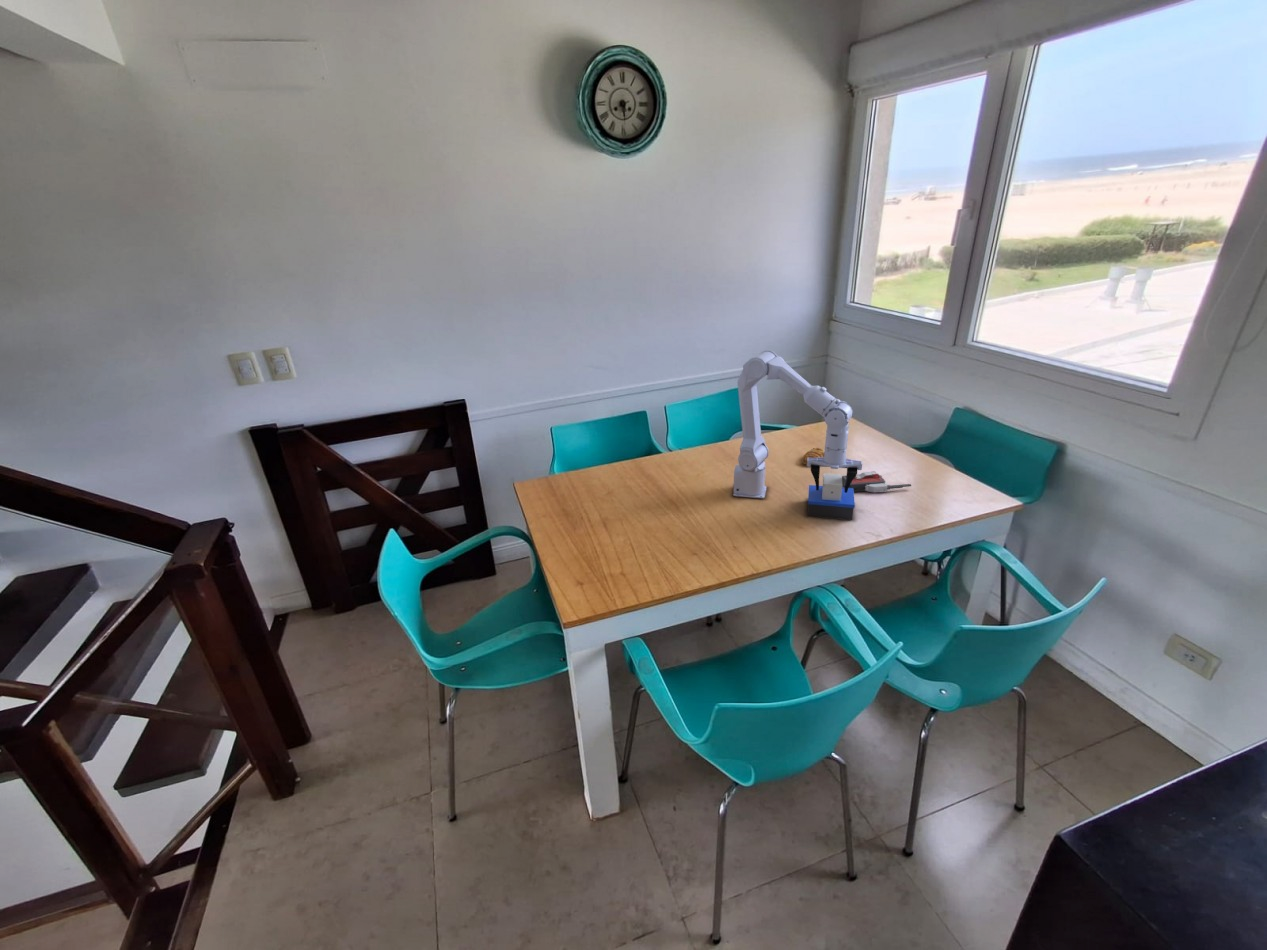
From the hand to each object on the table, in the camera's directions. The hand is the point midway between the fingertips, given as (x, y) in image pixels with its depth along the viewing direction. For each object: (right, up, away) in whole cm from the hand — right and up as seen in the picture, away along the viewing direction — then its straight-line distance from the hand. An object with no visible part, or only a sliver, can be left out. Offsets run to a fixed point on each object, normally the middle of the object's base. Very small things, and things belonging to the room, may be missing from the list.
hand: (831, 489), depth 160 cm
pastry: (+6, +9, +33) cm, 35 cm away
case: (0, -1, +1) cm, 2 cm away
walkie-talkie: (+18, 0, +14) cm, 22 cm away
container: (0, -6, +3) cm, 6 cm away
